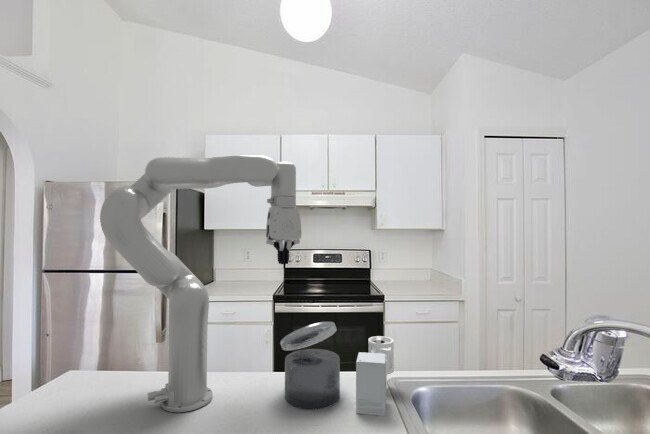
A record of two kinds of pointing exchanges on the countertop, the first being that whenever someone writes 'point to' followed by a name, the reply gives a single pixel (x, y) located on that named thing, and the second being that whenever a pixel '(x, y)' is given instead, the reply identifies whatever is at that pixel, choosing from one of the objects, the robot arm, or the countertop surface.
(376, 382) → the supplement box
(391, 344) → the white caged cylinder
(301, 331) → the lid
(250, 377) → the countertop surface
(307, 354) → the grey rounded cylinder
